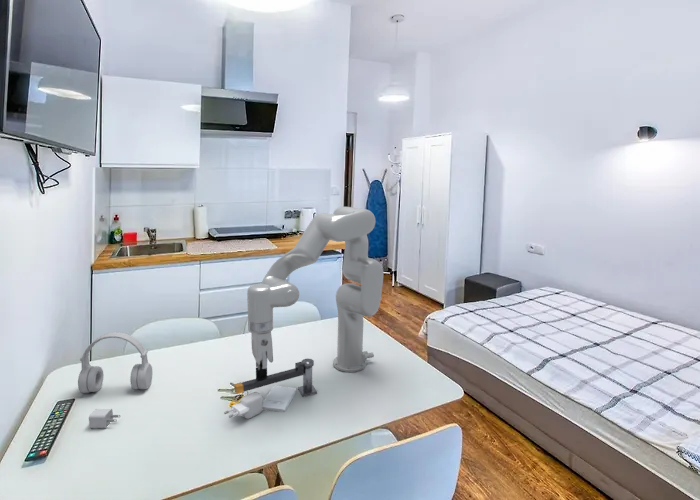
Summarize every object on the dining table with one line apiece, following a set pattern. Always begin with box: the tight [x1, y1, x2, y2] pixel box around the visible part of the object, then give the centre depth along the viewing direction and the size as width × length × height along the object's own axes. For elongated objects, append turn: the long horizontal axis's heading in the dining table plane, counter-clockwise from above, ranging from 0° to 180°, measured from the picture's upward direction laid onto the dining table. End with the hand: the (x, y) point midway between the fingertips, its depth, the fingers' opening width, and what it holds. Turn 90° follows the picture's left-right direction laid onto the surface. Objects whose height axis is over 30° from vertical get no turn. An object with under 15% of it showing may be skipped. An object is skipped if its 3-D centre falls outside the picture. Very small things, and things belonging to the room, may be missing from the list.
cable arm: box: [233, 358, 315, 395], centre depth 127 cm, size 26×4×4 cm, turn 123°
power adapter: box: [223, 391, 263, 420], centre depth 119 cm, size 11×5×6 cm, turn 137°
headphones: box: [77, 331, 153, 394], centre depth 131 cm, size 20×8×19 cm, turn 100°
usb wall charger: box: [88, 408, 121, 429], centre depth 114 cm, size 4×7×4 cm, turn 93°
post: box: [297, 366, 318, 398], centre depth 134 cm, size 5×5×9 cm
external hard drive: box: [262, 385, 298, 413], centre depth 129 cm, size 2×8×12 cm
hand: (261, 379), depth 128 cm, fingers closed
